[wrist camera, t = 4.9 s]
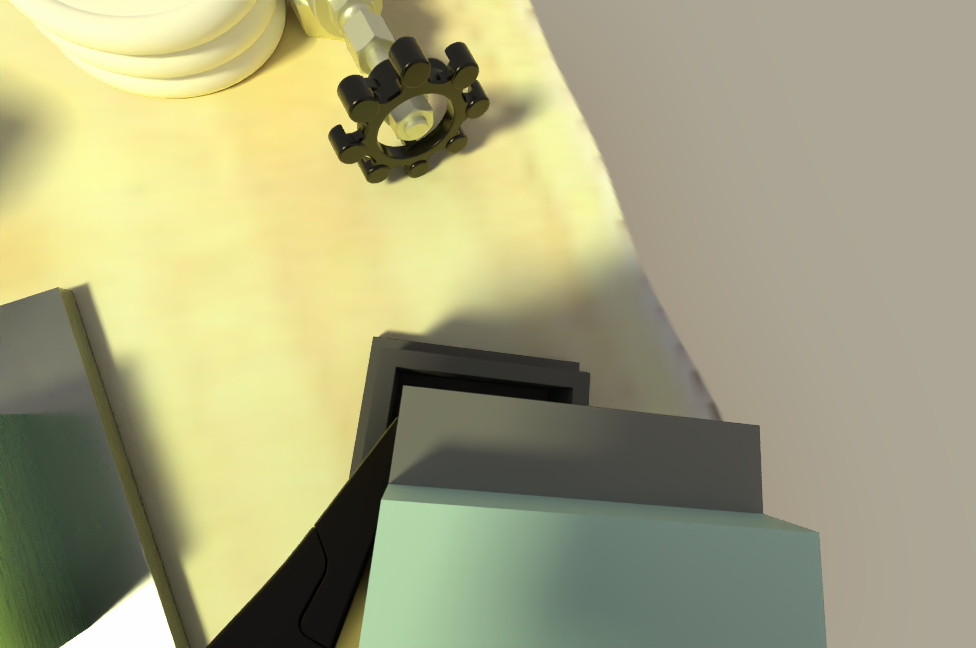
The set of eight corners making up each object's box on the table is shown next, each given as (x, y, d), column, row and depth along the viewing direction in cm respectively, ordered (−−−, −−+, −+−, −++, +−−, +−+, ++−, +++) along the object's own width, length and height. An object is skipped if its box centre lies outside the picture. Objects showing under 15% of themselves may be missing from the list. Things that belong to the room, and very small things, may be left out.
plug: (519, 527, 16) (864, 987, 3) (398, 518, 15) (275, 1046, 3) (529, 405, 17) (823, 417, 4) (417, 393, 16) (385, 364, 4)
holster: (561, 581, 16) (599, 631, 13) (335, 569, 15) (308, 621, 11) (574, 364, 18) (610, 354, 14) (375, 338, 17) (361, 322, 13)
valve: (248, -4, 19) (354, 202, 18) (158, -206, 13) (315, 93, 12) (373, -35, 21) (479, 154, 19) (349, -231, 14) (506, 32, 13)
